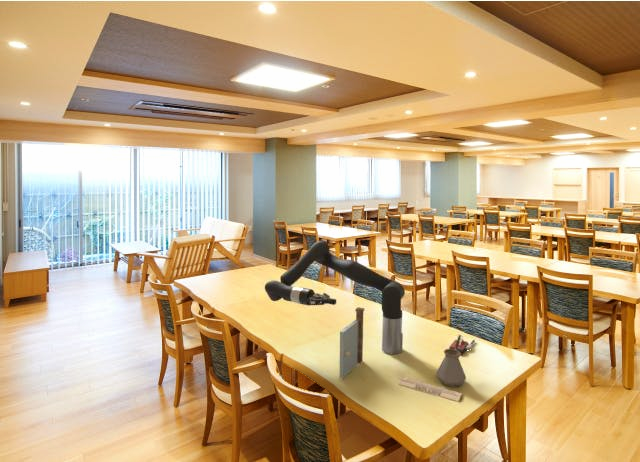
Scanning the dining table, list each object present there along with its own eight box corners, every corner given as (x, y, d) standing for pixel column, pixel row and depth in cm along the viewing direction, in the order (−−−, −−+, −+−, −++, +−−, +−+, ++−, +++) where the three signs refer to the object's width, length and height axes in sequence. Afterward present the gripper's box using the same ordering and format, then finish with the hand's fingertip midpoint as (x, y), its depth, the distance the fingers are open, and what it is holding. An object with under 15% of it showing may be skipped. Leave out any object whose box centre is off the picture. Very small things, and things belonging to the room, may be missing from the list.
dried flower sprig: (466, 358, 183) (476, 343, 199) (467, 349, 182) (476, 335, 199) (447, 353, 188) (458, 339, 204) (448, 344, 187) (458, 331, 204)
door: (354, 362, 176) (355, 319, 173) (361, 364, 174) (362, 320, 172) (339, 377, 162) (339, 331, 160) (346, 379, 161) (347, 333, 158)
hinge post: (357, 359, 180) (358, 307, 177) (363, 361, 178) (364, 308, 175) (354, 362, 177) (355, 309, 174) (360, 363, 176) (361, 310, 173)
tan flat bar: (462, 396, 151) (462, 392, 151) (458, 405, 145) (458, 400, 145) (403, 379, 163) (403, 375, 163) (397, 387, 157) (397, 383, 157)
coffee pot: (462, 392, 153) (464, 355, 151) (432, 384, 158) (434, 349, 157) (472, 369, 171) (474, 337, 169) (445, 363, 177) (447, 331, 175)
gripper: (294, 291, 175) (328, 297, 167) (310, 284, 187) (342, 290, 178) (294, 307, 176) (328, 314, 168) (309, 300, 188) (342, 306, 179)
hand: (335, 302), depth 173 cm, fingers closed
